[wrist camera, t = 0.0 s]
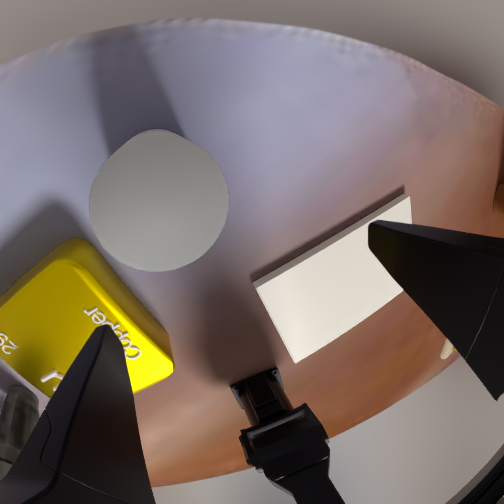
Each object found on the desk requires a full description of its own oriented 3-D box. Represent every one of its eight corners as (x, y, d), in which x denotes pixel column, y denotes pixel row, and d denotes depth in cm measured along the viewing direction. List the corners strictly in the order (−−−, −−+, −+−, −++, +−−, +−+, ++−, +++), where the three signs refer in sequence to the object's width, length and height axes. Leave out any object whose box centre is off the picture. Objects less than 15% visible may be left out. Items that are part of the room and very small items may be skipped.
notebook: (408, 279, 37) (412, 282, 36) (291, 358, 35) (295, 363, 34) (403, 193, 29) (409, 196, 28) (252, 282, 27) (255, 288, 26)
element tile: (177, 340, 28) (185, 375, 24) (81, 390, 27) (79, 422, 23) (81, 226, 20) (68, 252, 16) (-11, 307, 18) (-27, 337, 14)
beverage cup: (56, 400, 25) (59, 545, 9) (36, 416, 26) (37, 542, 9) (9, 370, 21) (-9, 522, 5) (-5, 390, 22) (-20, 520, 5)
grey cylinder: (203, 191, 22) (242, 244, 13) (131, 218, 21) (122, 289, 12) (182, 118, 19) (209, 116, 10) (105, 146, 18) (68, 168, 9)
